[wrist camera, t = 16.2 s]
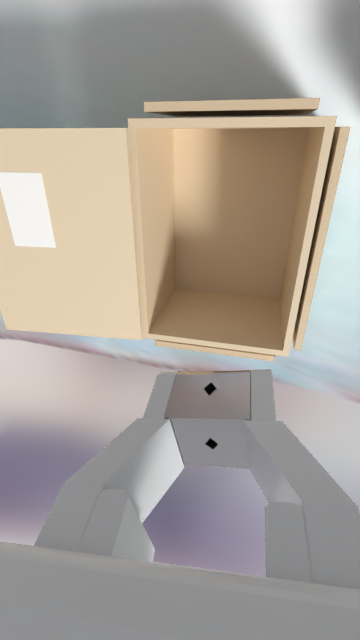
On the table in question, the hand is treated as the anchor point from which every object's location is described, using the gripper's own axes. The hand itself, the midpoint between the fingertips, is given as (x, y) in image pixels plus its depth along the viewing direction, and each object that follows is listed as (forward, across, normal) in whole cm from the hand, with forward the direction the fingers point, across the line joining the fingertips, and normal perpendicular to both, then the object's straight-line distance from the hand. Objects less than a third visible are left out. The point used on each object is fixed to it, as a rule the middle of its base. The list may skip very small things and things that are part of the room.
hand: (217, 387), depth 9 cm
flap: (+15, +7, +1) cm, 16 cm away
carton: (+25, +1, +3) cm, 25 cm away
